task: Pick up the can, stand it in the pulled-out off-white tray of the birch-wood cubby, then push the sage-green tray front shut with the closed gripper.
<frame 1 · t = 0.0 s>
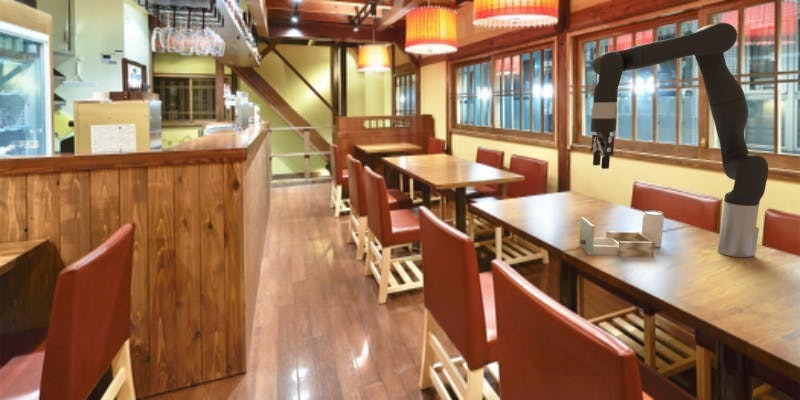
hand: (600, 167, 150), 29 cm above the table, fingers open, 8 cm apart
cubby: (626, 250, 156), on the table
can: (650, 245, 162), on the table
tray: (599, 235, 156), point 5 cm above the table, slide at 8.0 cm
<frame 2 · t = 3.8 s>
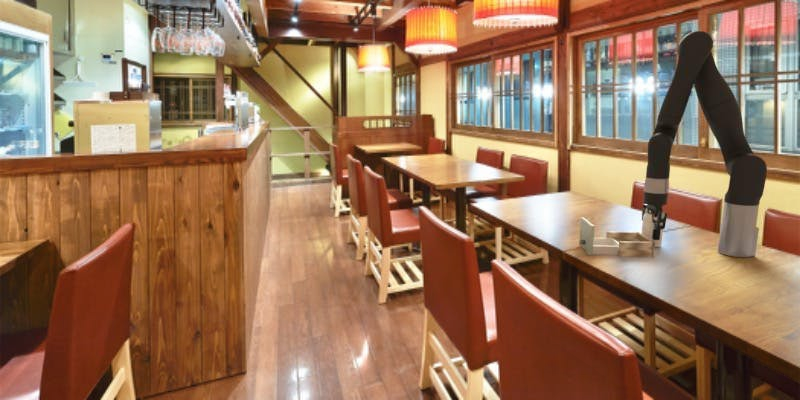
hand: (651, 236, 162), 3 cm above the table, fingers closed on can, 6 cm apart
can: (650, 245, 162), on the table, touching gripper
everything else where it was.
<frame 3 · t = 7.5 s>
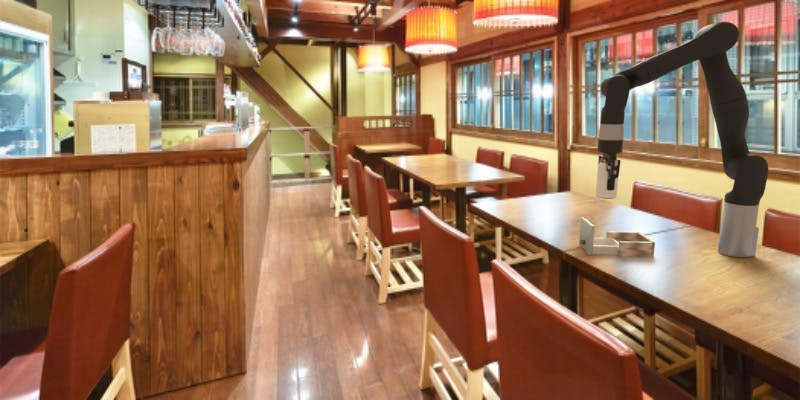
hand: (606, 188, 153), 22 cm above the table, fingers closed on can, 6 cm apart
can: (605, 197, 154), point 19 cm above the table, touching gripper
everything else where it was.
when the fingers open (6 cm above the table, at t = 11.2 s): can drops 1 cm, resting on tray.
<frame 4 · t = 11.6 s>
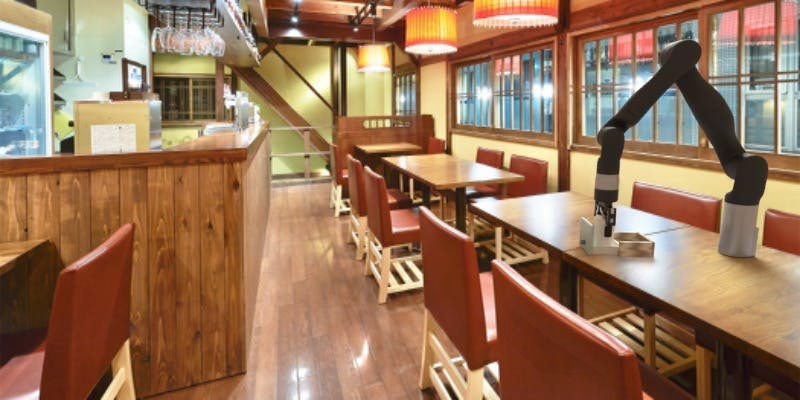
hand: (603, 233, 156), 6 cm above the table, fingers open, 8 cm apart
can: (602, 248, 157), point 1 cm above the table, touching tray
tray: (599, 235, 156), point 5 cm above the table, slide at 8.0 cm, touching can
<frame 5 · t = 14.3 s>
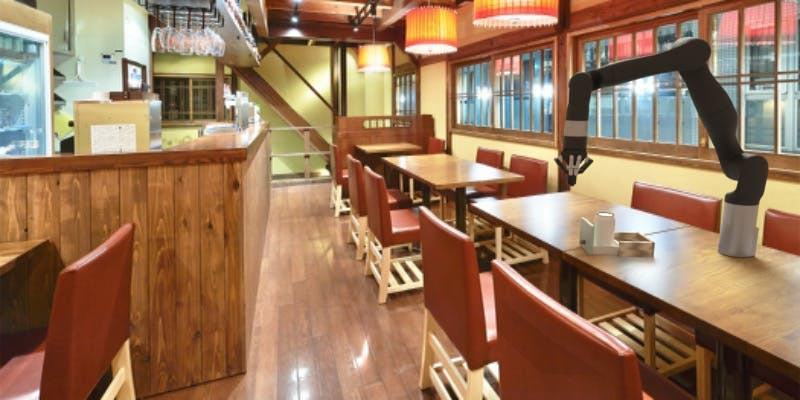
hand: (571, 185, 155), 23 cm above the table, fingers closed
nothing on the table moved.
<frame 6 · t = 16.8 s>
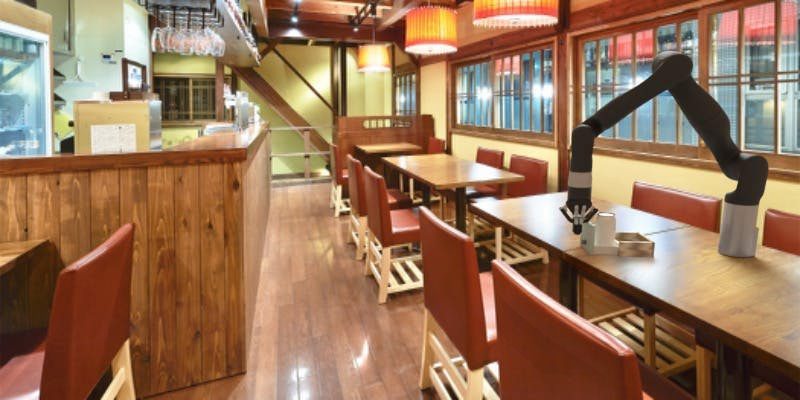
hand: (577, 234, 157), 6 cm above the table, fingers closed
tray: (600, 235, 156), point 5 cm above the table, slide at 7.7 cm, touching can, gripper
everything else where it was.
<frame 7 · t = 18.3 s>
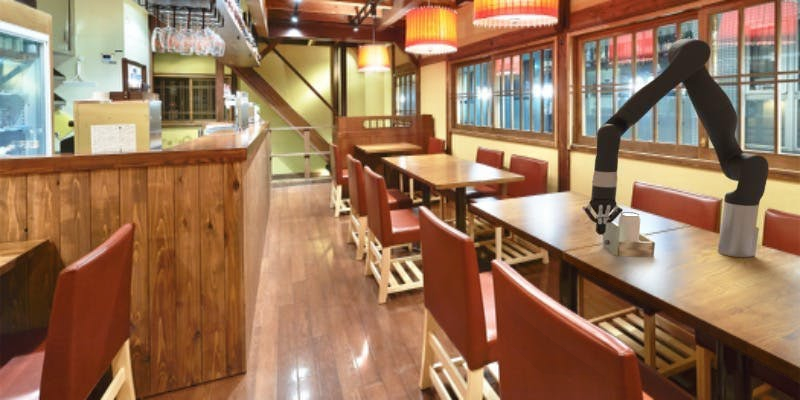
hand: (600, 234, 156), 6 cm above the table, fingers closed
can: (627, 248, 156), point 1 cm above the table, touching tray
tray: (624, 235, 155), point 5 cm above the table, slide at -0.1 cm, touching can, gripper
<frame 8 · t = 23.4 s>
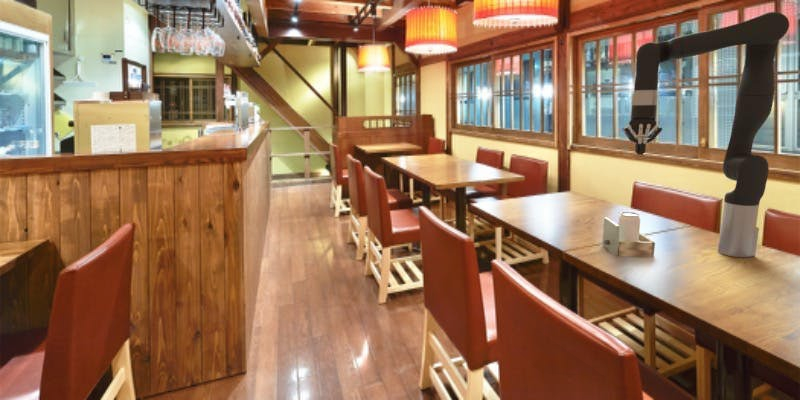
hand: (639, 154, 160), 32 cm above the table, fingers closed
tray: (624, 235, 155), point 5 cm above the table, slide at 0.0 cm, touching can
everything else where it was.
at the end: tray slide at 0.0 cm; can inside the target area (0.2 cm from its centre), point 0.9 cm above the table; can tilted 0° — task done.
